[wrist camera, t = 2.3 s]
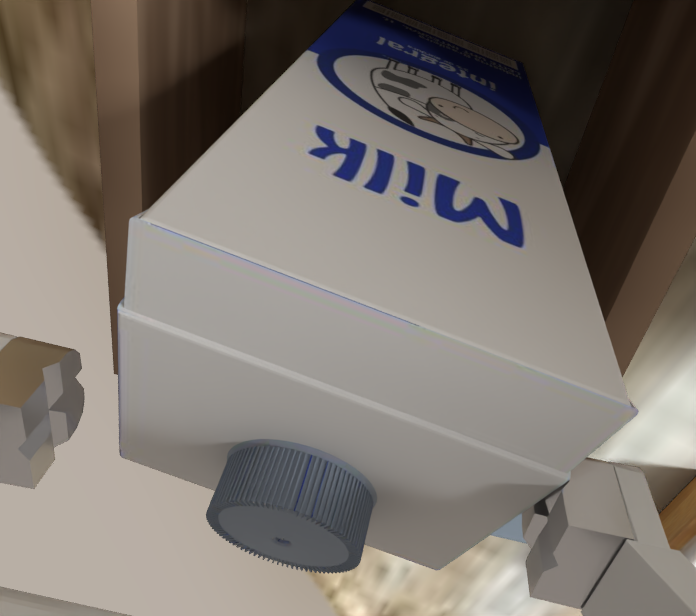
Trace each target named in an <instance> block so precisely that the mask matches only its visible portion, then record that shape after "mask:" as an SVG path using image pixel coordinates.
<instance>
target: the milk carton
mask: <svg viewBox="0 0 696 616" xmlns="http://www.w3.org/2000/svg"><path fill="white" fill-rule="evenodd" d="M117 331H118V389H119V390H118V392H119V393H118V394H119V452H120V456H121V457H122V458H125V459H128V460H130V461H133V462H136V463H139V464H142V465H144V466H148V467H150V468H153V469H156V470H158V471H161V472H164V473H167V474H170V475H172V476H175V477H178V478H181V479H184V480H186V481H189V482H192V483H195V484H197V485H200V486H203V487H206V488H209V489H211V490H214V491H215V493H214V495H213V497H212V500H211V502H210V505H209V507H208V510H207V513H206V518H207V520H208V522H209V524H210V526H211V527H212V529H214V531H216V532H217V534H219V536H223V537H222V538H226V541H229V543H233V545H237V546H236V547H241V550H242V549H245V552H247V551H250V552H249V554H251V553H253V552H254V556H255V555H257V554H258V555H259V556H258V558H259V557H261V556H263V560H264V559H265V558H268V561H269V560H270V559H272V560H273V562H274V560H275V561H278V562H277V565H278V563H279V562H281V563H282V566H283V564H287V567H288V565H291V568H292V569H293V566H295V567H296V569H297V570H298V567H300V569H301V571H302V570H303V568H304V569H305V571H307V570H308V569H309V571H310V572H312V570H313V571H314V572H315V573H316V572H317V571H318V572H319V573H321V571H322V572H323V573H325V572H327V573H330V572H331V573H333V572H335V573H337V572H339V573H341V572H344V571H345V572H347V570H348V571H350V570H352V569H354V568H356V567H357V566H358V564H359V563H360V561H361V556H362V552H363V548H364V544H365V545H367V546H370V547H373V548H376V549H379V550H381V551H384V552H387V553H390V554H392V555H395V556H398V557H401V558H404V559H406V560H409V561H412V562H415V563H418V564H420V565H423V566H426V567H429V568H432V569H434V570H440V569H441V568H443V567H444V566H446V565H447V564H449V563H450V562H452V561H453V560H455V559H456V558H457V557H459V556H460V555H462V554H463V553H465V552H466V551H468V550H469V549H470V548H472V547H473V546H475V545H476V544H478V543H479V542H481V541H482V540H483V539H485V538H486V537H488V536H489V535H491V534H492V533H494V532H495V531H497V530H498V529H499V528H501V527H502V526H504V525H505V524H507V523H508V522H510V521H511V520H512V519H514V518H515V517H517V516H518V515H520V514H521V513H523V512H524V511H525V510H527V509H528V508H530V507H531V506H533V505H534V504H536V503H537V502H538V501H540V500H541V499H543V498H544V497H546V496H547V495H549V494H550V493H552V492H553V491H554V490H556V489H557V488H559V487H560V486H562V485H563V484H565V483H566V482H567V481H569V480H570V477H571V470H572V469H574V468H575V467H576V466H577V465H578V464H579V463H581V462H582V461H583V460H584V459H585V458H587V457H588V456H589V455H590V454H591V453H592V452H594V451H595V450H596V449H597V448H598V447H600V446H601V445H602V444H603V443H604V442H605V441H607V440H608V439H609V438H610V437H611V436H613V435H614V434H615V433H616V432H617V431H618V430H620V429H621V428H622V427H623V426H624V425H625V424H627V423H628V422H629V421H630V420H631V419H633V418H634V417H635V416H636V415H637V414H638V409H637V408H636V407H635V406H634V404H633V403H632V402H631V400H630V399H629V397H628V394H627V391H626V388H625V385H624V382H623V378H622V375H621V372H620V369H619V366H618V363H617V359H616V356H615V353H614V350H613V347H612V344H611V340H610V337H609V334H608V331H607V328H606V325H605V321H604V318H603V315H602V312H601V309H600V306H599V302H598V299H597V296H596V293H595V290H594V287H593V283H592V280H591V277H590V274H589V271H588V268H587V264H586V261H585V258H584V255H583V252H582V249H581V245H580V242H579V239H578V236H577V233H576V230H575V226H574V223H573V220H572V217H571V214H570V211H569V207H568V204H567V201H566V198H565V195H564V192H563V188H562V185H561V182H560V179H559V176H558V173H557V169H556V166H555V163H554V160H553V157H552V154H551V150H550V147H549V144H548V141H547V138H546V135H545V131H544V128H543V125H542V122H541V119H540V116H539V112H538V109H537V106H536V103H535V100H534V97H533V93H532V90H531V87H530V84H529V81H528V78H527V74H526V71H525V68H524V65H523V63H522V62H519V61H517V60H514V59H512V58H509V57H507V56H505V55H502V54H500V53H497V52H495V51H492V50H490V49H488V48H485V47H483V46H480V45H478V44H475V43H473V42H471V41H468V40H466V39H463V38H461V37H458V36H456V35H454V34H451V33H449V32H446V31H444V30H441V29H439V28H437V27H434V26H432V25H429V24H427V23H425V22H422V21H420V20H417V19H415V18H412V17H410V16H408V15H405V14H403V13H400V12H398V11H395V10H393V9H391V8H388V7H386V6H383V5H381V4H378V3H376V2H374V1H371V0H356V1H355V2H354V3H353V4H352V5H351V6H350V7H349V8H348V9H347V10H346V11H345V12H344V13H343V14H342V15H341V16H340V17H339V18H338V19H337V20H336V21H335V22H334V23H333V24H332V25H331V26H330V27H329V28H328V29H327V30H326V31H325V32H324V33H323V34H322V35H321V36H320V37H319V38H318V39H317V40H316V41H315V42H314V43H313V44H312V45H311V46H310V47H309V48H308V49H307V50H306V51H305V52H304V53H303V54H302V55H301V56H300V57H299V58H298V59H297V60H296V61H295V62H294V63H293V64H292V65H291V66H290V67H289V68H288V69H287V70H286V71H285V72H284V73H283V74H282V75H281V76H280V77H279V78H278V79H277V80H276V81H275V82H274V83H273V84H272V85H271V86H270V87H269V88H268V89H267V90H266V91H265V92H264V93H263V94H262V95H261V96H260V97H259V98H258V99H257V100H256V101H255V102H254V103H253V104H252V106H251V107H250V108H249V109H248V110H247V111H246V112H245V113H244V114H243V115H242V116H241V117H240V118H239V119H238V120H237V121H236V122H235V123H234V124H233V125H232V126H231V127H230V128H229V129H228V130H227V131H226V132H225V133H224V134H223V135H222V136H221V137H220V138H219V139H218V140H217V141H216V142H215V143H214V144H213V145H212V146H211V147H210V148H209V149H208V150H207V151H206V152H205V153H204V154H203V155H202V156H201V157H200V158H199V159H198V160H197V161H196V162H195V163H194V164H193V165H192V166H191V167H190V168H189V169H188V170H187V171H186V172H185V173H184V174H183V175H182V176H181V177H180V178H179V179H178V180H177V181H176V182H175V183H174V184H173V185H172V186H171V187H170V188H169V189H168V190H167V191H166V192H165V193H164V194H163V195H162V196H161V197H160V198H159V199H158V200H157V201H156V202H155V203H154V204H153V205H152V206H151V207H150V208H149V209H147V210H146V211H144V212H142V213H140V214H138V215H136V216H134V217H132V218H130V220H129V230H128V247H127V263H126V280H125V296H124V298H123V299H122V300H121V302H120V303H119V305H118V307H117ZM273 562H272V563H273Z"/></svg>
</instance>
